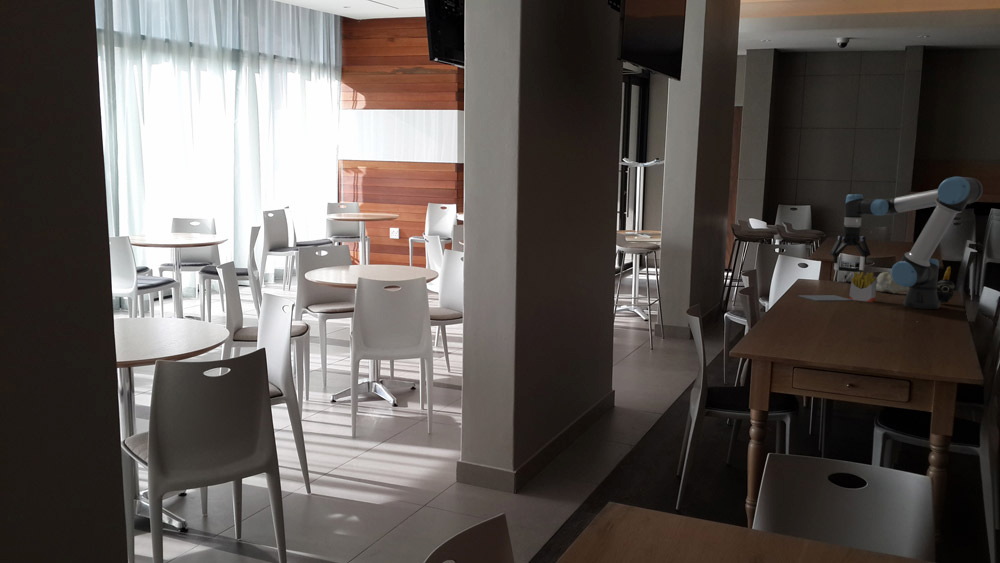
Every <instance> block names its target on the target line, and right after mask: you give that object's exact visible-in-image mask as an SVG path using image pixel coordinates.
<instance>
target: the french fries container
mask: <svg viewBox="0 0 1000 563" xmlns="http://www.w3.org/2000/svg"><path fill="white" fill-rule="evenodd" d="M857 275H858V276H857ZM877 283H878V282H877V277H874V272H866V274H864V271H863V272H860V274H858V272H854V278H852V281H851V282H850V288H849V294H848V299H852V300H853V301H858V302H859V301H861V302H868V303H873V302H876V296H877V295H876V294H877V291H876V285H877Z"/></svg>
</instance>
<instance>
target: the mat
mask: <svg viewBox="0 0 1000 563" xmlns="http://www.w3.org/2000/svg"><path fill="white" fill-rule="evenodd" d="M797 297H800V298H802V299H807V300H812V301H814V302H850V301H851V302H854V300H852V299H849V297H848V298H847V297H842V296H839V295H835V294H832V295H831V294H828V295H827V294H826V295H825V294H823V295H822V294H821V295H820V294H818V295H816V294H815V295H814V294H807V295H805V294H803V295H802V294H800V295H799V294H798V295H797Z"/></svg>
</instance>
